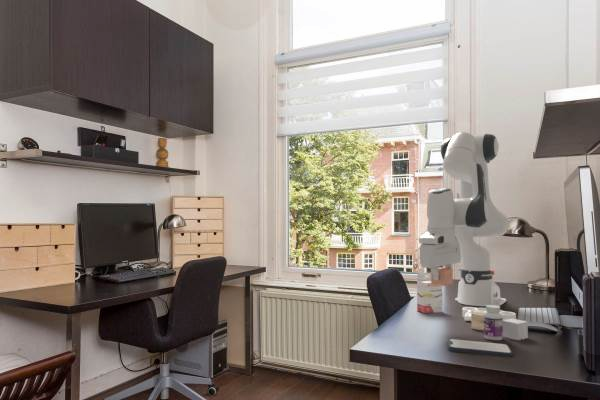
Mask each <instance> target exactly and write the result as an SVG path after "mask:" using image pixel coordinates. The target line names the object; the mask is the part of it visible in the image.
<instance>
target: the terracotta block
mask: <svg viewBox="0 0 600 400" xmlns="http://www.w3.org/2000/svg"><path fill="white" fill-rule="evenodd" d="M430 273H431V284H434V285H442V287H443V286H444V287H446V286H450V285H453V284H454V278H453V277H454V272H453V268H452V269H450V268H445V267H441V266H439V270H438V273H439V275H440V280H433V274H432V271H431V270H430Z"/></svg>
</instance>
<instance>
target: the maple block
mask: <svg viewBox="0 0 600 400" xmlns="http://www.w3.org/2000/svg"><path fill="white" fill-rule="evenodd" d="M484 313H485V312H480V311H474V312H473V313H472V314H471V321H470V322H471V329H472V330H477V331H484V317H483V316H484Z"/></svg>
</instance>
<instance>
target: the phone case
mask: <svg viewBox="0 0 600 400" xmlns="http://www.w3.org/2000/svg"><path fill="white" fill-rule="evenodd" d="M447 343H448V351H449V352H451V353H462V354H463V353H464V354H472V355H485V356H486V355H487V356H495V355H499V356H498V357H507V356H511V357H513V351H512V350H511V348H510V346H509V345H508V344H505V343H496V342H495V343H494V342H486V341H477V340H476V341H475V340H466V339H465V340H463V339H455V338H453V339H452V338H449V339H448V342H447Z"/></svg>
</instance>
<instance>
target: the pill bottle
mask: <svg viewBox="0 0 600 400" xmlns="http://www.w3.org/2000/svg"><path fill="white" fill-rule="evenodd" d="M485 308H486V311H487V312H485V313H484V316H483V317H484V330H483V337H484V338H485V339H486V340H490V341H501V340H503V339H504V337H503V316H502V314H501V313H499V312H500V310H501V306H496V305H486V306H485Z"/></svg>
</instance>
